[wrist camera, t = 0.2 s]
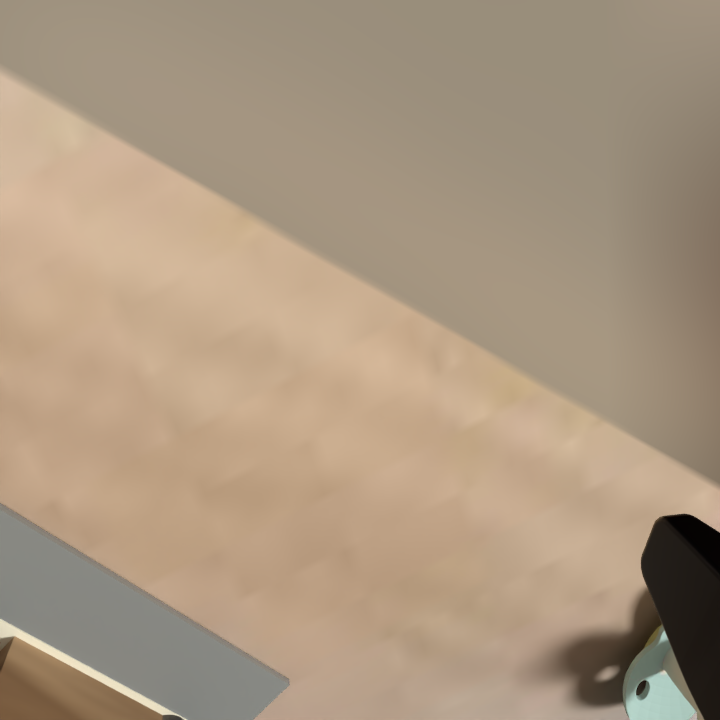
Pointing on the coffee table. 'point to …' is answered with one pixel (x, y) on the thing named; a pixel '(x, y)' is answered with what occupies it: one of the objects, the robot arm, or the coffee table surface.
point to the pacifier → (657, 684)
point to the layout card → (122, 631)
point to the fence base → (59, 690)
